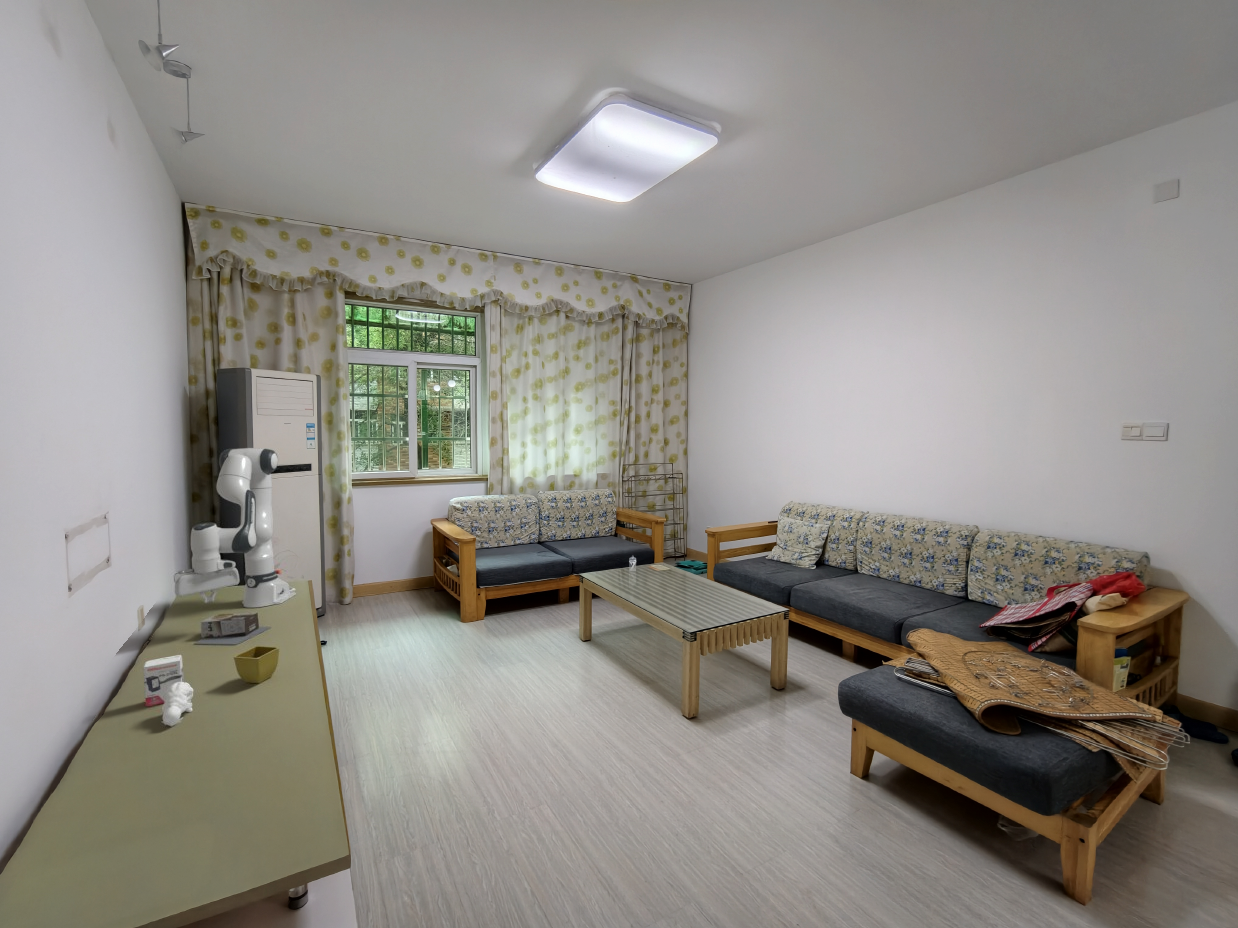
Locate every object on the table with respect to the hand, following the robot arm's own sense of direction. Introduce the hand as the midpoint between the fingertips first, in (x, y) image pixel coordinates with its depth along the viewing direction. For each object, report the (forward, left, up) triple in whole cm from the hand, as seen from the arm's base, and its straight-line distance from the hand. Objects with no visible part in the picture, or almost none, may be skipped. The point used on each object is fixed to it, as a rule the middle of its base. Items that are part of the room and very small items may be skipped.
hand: (209, 601), depth 216 cm
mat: (0, +9, -13) cm, 16 cm away
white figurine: (+60, +43, -14) cm, 75 cm away
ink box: (+50, +30, -13) cm, 60 cm away
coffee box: (-1, -1, -10) cm, 10 cm away
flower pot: (+36, +48, -13) cm, 61 cm away
